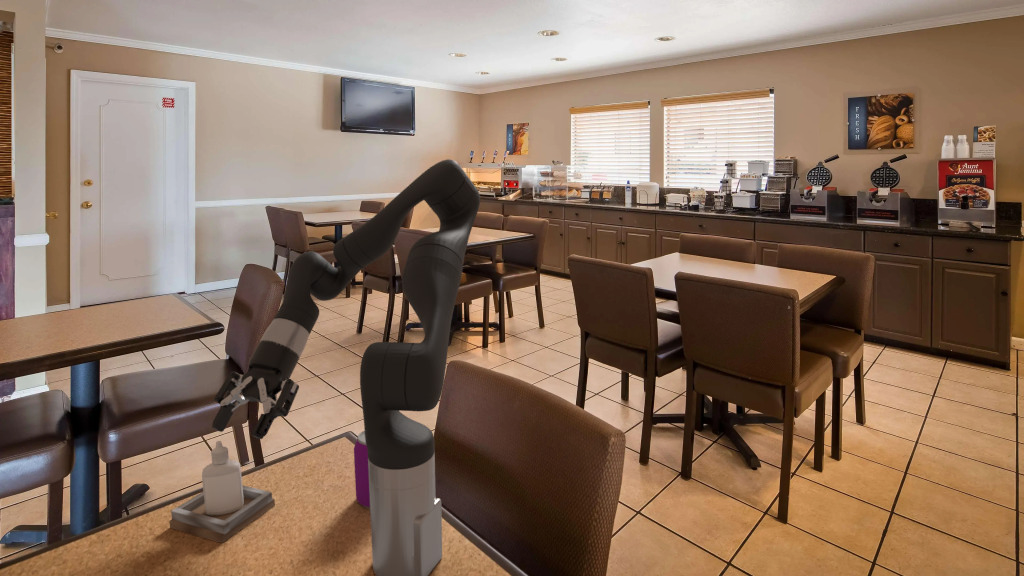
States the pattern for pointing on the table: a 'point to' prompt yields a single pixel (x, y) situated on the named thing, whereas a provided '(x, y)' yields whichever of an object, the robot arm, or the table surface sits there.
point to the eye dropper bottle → (222, 483)
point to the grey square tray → (220, 526)
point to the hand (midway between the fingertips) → (236, 433)
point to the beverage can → (362, 471)
